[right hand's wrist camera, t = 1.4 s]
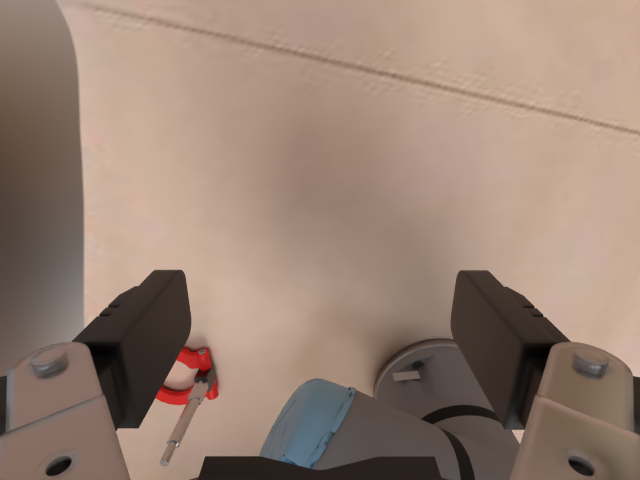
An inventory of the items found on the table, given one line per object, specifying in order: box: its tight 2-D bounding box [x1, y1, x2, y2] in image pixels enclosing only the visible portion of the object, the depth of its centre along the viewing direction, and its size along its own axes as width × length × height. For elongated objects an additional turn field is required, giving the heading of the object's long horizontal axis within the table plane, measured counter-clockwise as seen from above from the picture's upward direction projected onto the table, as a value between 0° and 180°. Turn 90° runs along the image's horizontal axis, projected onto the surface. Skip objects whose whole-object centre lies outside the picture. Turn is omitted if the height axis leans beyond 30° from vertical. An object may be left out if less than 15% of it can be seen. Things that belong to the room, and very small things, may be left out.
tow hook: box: [155, 348, 218, 466], centre depth 41 cm, size 8×13×9 cm
